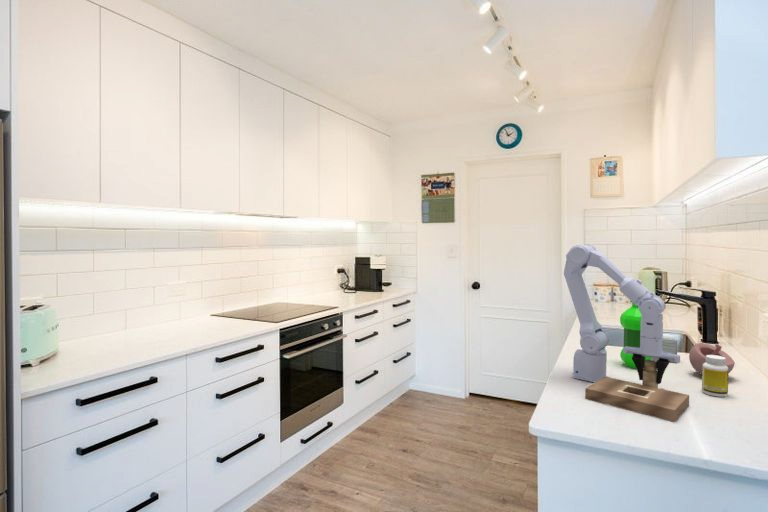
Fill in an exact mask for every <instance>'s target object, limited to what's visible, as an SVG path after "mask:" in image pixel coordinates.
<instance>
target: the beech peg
mask: <svg viewBox="0 0 768 512" xmlns="http://www.w3.org/2000/svg"><path fill="white" fill-rule="evenodd" d="M641 381H642V384H641V385H646V386H650V387H655V388H659V384H657V364H656V360H652V359H651V360H645V362H644V370H643V380H641Z"/></svg>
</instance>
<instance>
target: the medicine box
mask: <svg viewBox="0 0 768 512" xmlns="http://www.w3.org/2000/svg"><path fill="white" fill-rule="evenodd" d="M662 351H664V352H668V353H672V354H676V355H678V338H677V337H671V336H663V341H662ZM651 360H653V361H657V360H659V359H656V358H652V359H651ZM670 363H674V364H676V363H675V362H673V361H670Z"/></svg>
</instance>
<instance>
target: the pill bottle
mask: <svg viewBox="0 0 768 512" xmlns="http://www.w3.org/2000/svg"><path fill="white" fill-rule="evenodd" d="M706 361H707V362H705V363H704V364H703V366H702V374H701V391H702V393H703V394H706V395H709V396H712V397H719V398H721V397H722V398H723V397H724V398H725V397H727V396H728V394H729V374H730V373H729V371H728V370H729V369H728V367H727V366H726V365H725V364H724V363H725V362H726V358H725V357H722V356H717V355H706ZM728 373H729V374H728Z"/></svg>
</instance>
